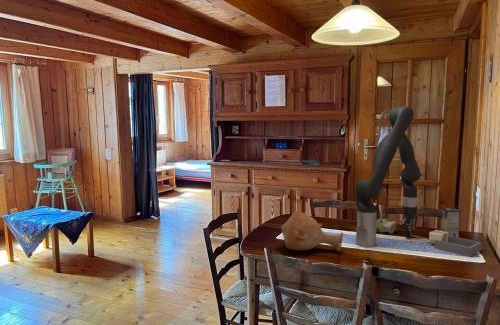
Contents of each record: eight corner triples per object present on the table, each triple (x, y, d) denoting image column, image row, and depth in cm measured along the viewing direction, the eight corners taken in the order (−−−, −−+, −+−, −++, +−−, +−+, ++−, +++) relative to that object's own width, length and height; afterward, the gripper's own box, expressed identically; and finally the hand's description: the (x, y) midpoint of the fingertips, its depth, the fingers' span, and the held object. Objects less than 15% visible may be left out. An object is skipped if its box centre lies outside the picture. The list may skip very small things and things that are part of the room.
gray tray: (469, 256, 166) (469, 248, 166) (434, 248, 179) (434, 240, 179) (481, 250, 174) (481, 242, 174) (446, 242, 187) (446, 235, 186)
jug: (283, 218, 195) (340, 226, 190) (278, 253, 186) (338, 262, 181) (283, 202, 178) (346, 211, 173) (278, 240, 168) (344, 250, 164)
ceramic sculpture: (393, 220, 198) (366, 218, 207) (394, 236, 199) (367, 233, 207) (398, 216, 207) (371, 215, 216) (399, 231, 208) (372, 229, 216)
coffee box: (440, 236, 198) (441, 207, 197) (453, 236, 197) (454, 207, 195) (445, 241, 189) (446, 210, 188) (459, 241, 188) (460, 211, 186)
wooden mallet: (441, 247, 179) (441, 235, 179) (403, 238, 195) (403, 226, 194) (447, 244, 183) (448, 232, 183) (410, 235, 199) (410, 224, 199)
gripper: (410, 202, 201) (409, 232, 203) (396, 205, 193) (395, 237, 195) (423, 204, 195) (422, 235, 197) (409, 208, 187) (408, 241, 189)
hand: (409, 236), depth 196 cm, fingers closed on wooden mallet, 2 cm apart
